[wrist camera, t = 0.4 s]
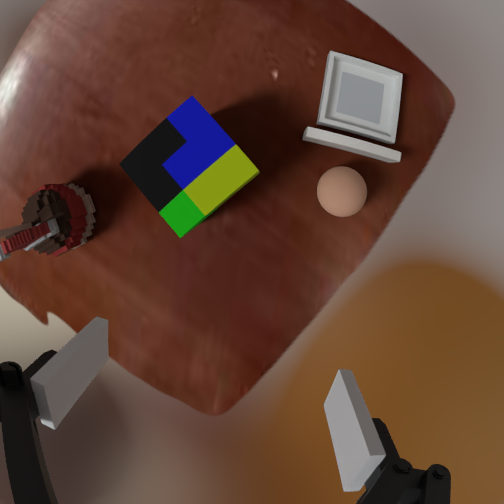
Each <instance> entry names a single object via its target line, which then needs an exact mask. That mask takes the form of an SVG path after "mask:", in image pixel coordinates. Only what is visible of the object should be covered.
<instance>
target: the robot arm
mask: <svg viewBox="0 0 504 504" xmlns="http://www.w3.org/2000/svg"><path fill="white" fill-rule="evenodd" d="M107 361H108V320H106V319H103V318H99V317H95V318H94V319H93V320H92V321H91V322H90V323H89V324H88V325H87V326H86V327H84V328H83V329H82V330H81V331H80V332H79V333H78V334H77V335H76V336H75V337H74V338H72V339H71V340H70V341H69V342H68V343H67V344H66V345H65V346H64V347H63V348H62V349H61V350H60V351H59V352H56V351H54V350H50V351H47V352H45V353H43V354H42V355H41V356H40V357H39V358H38V359H36V361H34V363H32V364H31V365H30V366H29V367H28V368H27V369H26V370H24V371H23V372H22V369H21V367H20V365H19V364H17V363H15V362H10V361H8V362H3V363H1V364H0V422H2V432H3V442H4V450H5V457H6V463H7V469H8V474H9V480H10V484H11V489H12V494H13V498H14V502H15V504H58V501H57V498H56V496H55V492H54V489H53V487H52V483H51V480H50V477H49V473H48V470H47V466H46V463H45V459H44V455H43V452H42V447H41V443H40V438H39V434H38V429H37V424H36V421H35V419H36V418H37V417H38V416H39V415H40V419H41V422H42V423H43V424H45V425H47V426H49V427H50V428H52V429H56V427H57V426H58V425H59V423H60V422H61V421H62V419H63V418H64V417H65V415H66V414H67V412H68V411H69V410H70V409H71V407H72V406H73V405H74V403H75V402H76V401H77V399H78V398H79V397H80V395H81V394H82V393H83V391H84V390H85V389H86V388H87V386H88V385H89V384H90V382H91V381H92V380H93V378H94V377H95V376H96V375H97V373H98V372H99V371H100V370H101V368H102V367H103V366H104V364H105V363H106V362H107ZM324 408H325V412H326V417H327V421H328V425H329V429H330V433H331V437H332V441H333V446H334V450H335V454H336V459H337V463H338V468H339V472H340V476H341V481H342V485H343V490H344V492H346V491H359V490H360V489H361V488H362V486H363V485H364V484H365V487H366V491H365V493H364V494H363V495H362V496H361V497H360V498H359V499H358V501H357V503H356V504H450V490H451V487H450V486H451V475H450V472H449V470H448V469H447V468H446V467H444V466H442V465H440V464H434V465H431V466H430V467H429V468H428V470H419V469H414V468H413V467H412V465H411V464H410V463H409V462H408V461H406V460H405V459H402V458H400V457H399V455H398V452H397V450H396V448H395V445H394V443H393V440H392V439H391V436H390V434H389V431H388V429H387V427H386V425H385V424H384V423H383V422H382V421H381V420H380V419H379V418H371V416H370V413H369V411H368V409H367V406H366V404H365V401H364V399H363V397H362V395H361V392H360V390H359V387H358V385H357V383H356V380H355V378H354V375H353V373H352V371H351V370H344V369H339V370H338V373H337V375H336V378H335V380H334V383H333V385H332V387H331V389H330V392H329V394H328V396H327V399H326V401H325V403H324Z"/></svg>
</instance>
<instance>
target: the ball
mask: <svg viewBox="0 0 504 504" xmlns="http://www.w3.org/2000/svg"><path fill="white" fill-rule="evenodd" d="M317 195H318V199H319V202H320V204H321V205H322V207H323V208H324V209H325V210H326V211H327V212H329V213H330V214H332V215H335V216H339V217H346V216H351V215H353V214H355V213H357V212H358V211H359V210H360V209H361V208H362V207H363V205H364V203H365V201H366V197H367V188H366V184H365V181H364V179H363V178H362V176H361V175H360V174H359V173H358V172H357V171H355V170H353V169H351V168H349V167H344V166H339V167H334V168H331V169H330V170H328V171H326V172H325V173H324V174H323V175H322V177H321V178H320V180H319V183H318V186H317Z"/></svg>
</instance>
